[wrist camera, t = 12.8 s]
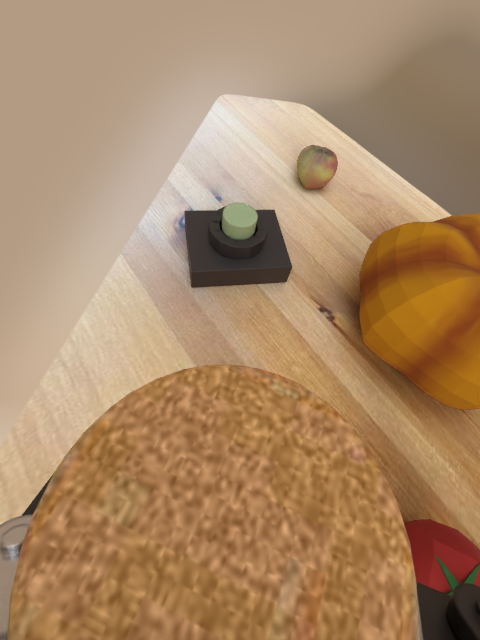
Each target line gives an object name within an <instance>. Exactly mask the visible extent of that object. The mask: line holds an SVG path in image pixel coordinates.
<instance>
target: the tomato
mask: <svg viewBox="0 0 480 640" xmlns="http://www.w3.org/2000/svg"><path fill="white" fill-rule="evenodd" d="M404 526H405V529H406V532H407V535H408V538H409V541H410V547H411V553H412V559H413V565H414V571H415V577H416V582H419V583H421V584H423V585H425V586H428V587H430V588H433V589H435V590H438V591H440V592H443V593H445V594H448V595H450V596H452V594H453V591H454V589H455V587H456V586H457V585H459V584H461V583H470V584H474V585H477V586H479V587H480V550H479V549H478V548H477V547H476V546H475V545H474V544H473V543H472V542H471V541H470V540H469V539H468V538H467V537H465V536H464V535H463V534H462V533H461V532H459V531H458V530H456V529H454V528H451V527H448V526H446V525H443V524H440V523H438V522H435V521H432V520H414V521H411V522H408V523H405V524H404Z"/></svg>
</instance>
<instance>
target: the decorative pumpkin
mask: <svg viewBox="0 0 480 640" xmlns="http://www.w3.org/2000/svg"><path fill="white" fill-rule="evenodd" d="M360 293H361V294H360V313H359V316H360V325H361V331H362V337H363V343H364V344H365V345H366V346H367V347H368V348H369V349H370V350H371V351H372V352H373V353H375V354H376V355H377V356H378V357H379V358H380V359H381V360H383V361H384V362H386V363H387V364H389V365H390V366H392V367H393V368H395V369H396V370H398V371H399V372H401V373H402V374H404V375H405V376H406V377H407V378H408V379H409V380H410V381H412V382H413V383H414V384H415V385H416V386H417V387H418V388H420V389H421V390H422V391H423V392H424V393H426V394H428V395H429V396H431V397H433V398H434V399H436V400H437V401H439V402H441V403H442V404H444V405H447V406H450V407H453V408H457V409H460V410H465V409H477V408H480V214H464V215H456V216H450V217H447V218H444V219H440V220H437V221H434V222H412V223H407V224H403V225H400V226H398V227H395V228H393V229H390V230H388V231H385V232H383V233H382V234H381V235H380V236H379V237H378V238H377V239H376V240H375V241H374V242H373V243H372V244H370V246H369V249H368V251H367V254H366V256H365V258H364V261H363V264H362V268H361V271H360Z"/></svg>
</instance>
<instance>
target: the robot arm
mask: <svg viewBox="0 0 480 640" xmlns="http://www.w3.org/2000/svg"><path fill="white" fill-rule="evenodd" d="M52 476H53V475H52ZM52 476H51V478H52ZM51 478H50V479H49V480H48V482H47V483H46V484H45V486H44V487H43V488H42V490H41V491H40V492H39V494H38V495H37V496H36V498H35V499H34V500H33V501H32V503H31V504H30V505H29V507H28V508H27V509H26V511H25V512H24V513H23V515H22V516H20V517H16V518H13V519H11V520H9V521H7V522H5V523H3V524H1V525H0V640H7V635H8V621H9V606H10V595H11V591H12V586H13V582H14V578H15V573H16V569H17V565H18V560H19V556H20V552H21V547H22V544H23V541H24V538H25V535H26V533H27V530H28V527H29V524H30V521H31V519H32V516H33V514H34V512H35V510H36V508H37V506H38V504H39V502H40V500H41V498H42V496H43V494H44V492H45V490H46V488H47V486H48V484H49V482H50V480H51ZM416 585H417V640H480V587H479V586H477V585H474V584H470V583H461V584H459V585H457V586H456V587H455V589H454V591H453V594H452V596H450V595H448V594H445V593H443V592H440V591H438V590H435V589H433V588H430V587H428V586H425V585H423V584H421V583H419V582H416Z"/></svg>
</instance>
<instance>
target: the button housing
mask: <svg viewBox="0 0 480 640" xmlns="http://www.w3.org/2000/svg"><path fill="white" fill-rule="evenodd" d="M224 209H225V207H223V208H221V209H219V210H217V211H185V231H186V240H187V249H188V259H189V268H190V278H191V287H209V286H226V285H244V284H261V283H278V282H286V281H287V279H288V276H289V274H290V271H291V269H292V265H291V262H290V258H289V255H288V252H287V249H286V246H285V242H284V239H283V236H282V233H281V230H280V226H279V223H278V220H277V217H276V213H275V210H255V211H256V212H257V215H258V219H257V223H256V228H255V232H254V234H253V235H252V236H251V237H250V238H248V239H246V240H235V239H232V238H230V237H228V236H227V235H225V234H224V232H223V230H222V217H223V210H224Z"/></svg>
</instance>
